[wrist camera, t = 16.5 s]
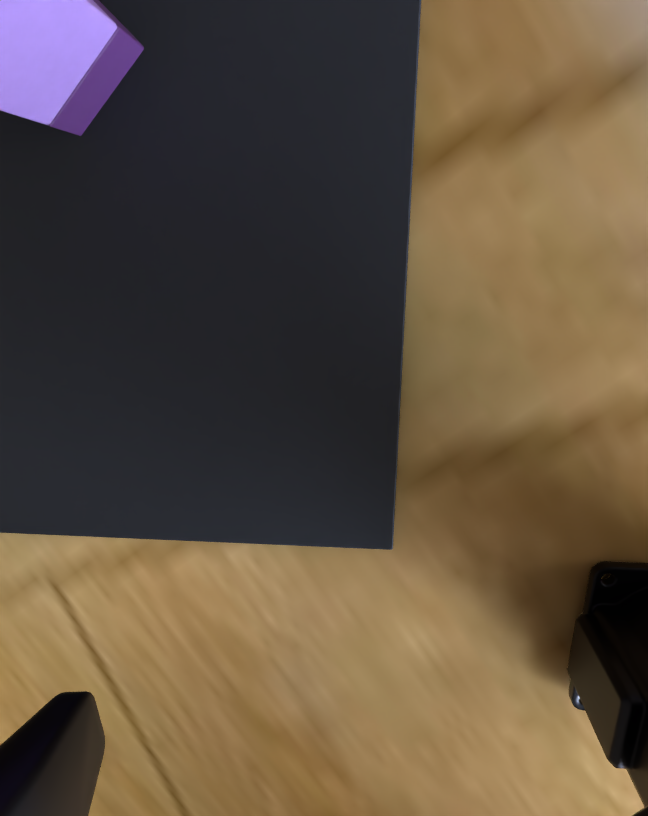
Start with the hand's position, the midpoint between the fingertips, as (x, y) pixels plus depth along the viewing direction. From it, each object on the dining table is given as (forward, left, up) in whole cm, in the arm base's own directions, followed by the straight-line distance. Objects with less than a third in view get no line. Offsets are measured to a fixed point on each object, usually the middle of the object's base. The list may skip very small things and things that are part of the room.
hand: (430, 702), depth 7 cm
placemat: (+9, -5, -13) cm, 16 cm away
